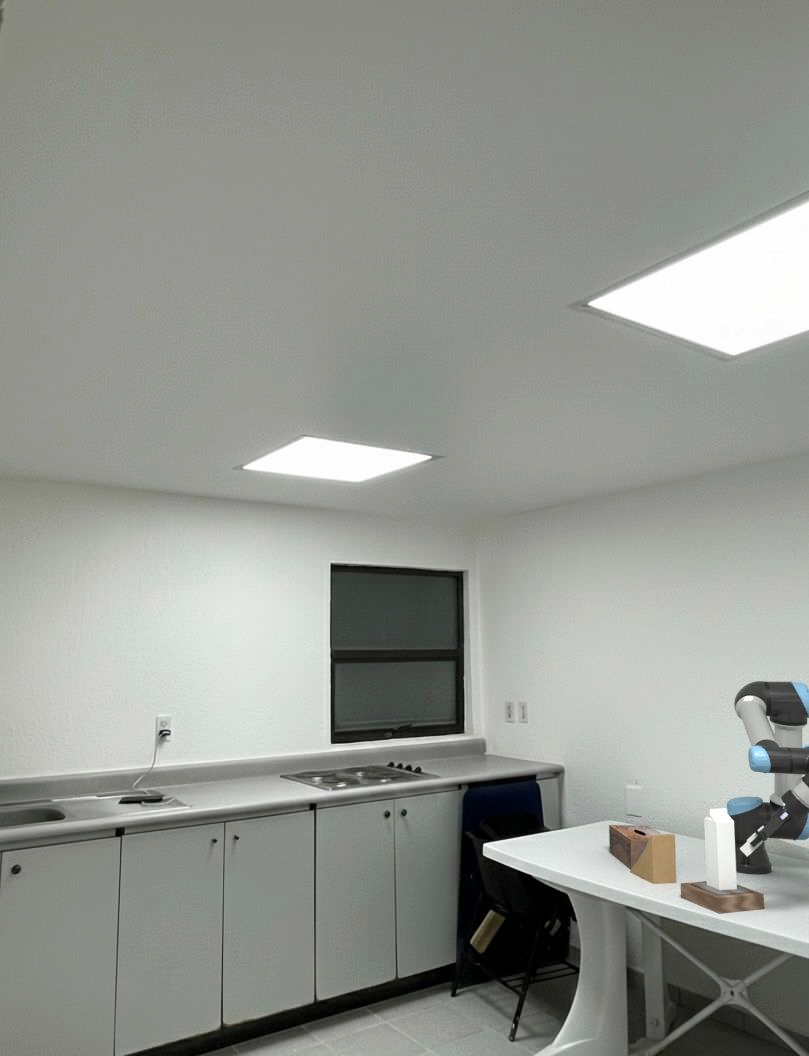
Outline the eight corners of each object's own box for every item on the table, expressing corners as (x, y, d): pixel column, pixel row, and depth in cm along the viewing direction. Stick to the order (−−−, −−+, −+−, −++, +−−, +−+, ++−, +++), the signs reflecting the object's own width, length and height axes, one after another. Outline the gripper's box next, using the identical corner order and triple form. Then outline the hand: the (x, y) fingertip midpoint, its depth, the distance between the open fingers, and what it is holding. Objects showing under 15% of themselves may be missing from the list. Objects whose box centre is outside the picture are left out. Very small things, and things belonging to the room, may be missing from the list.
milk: (737, 889, 232) (734, 810, 236) (719, 890, 231) (716, 810, 234) (723, 884, 238) (720, 806, 242) (705, 885, 237) (703, 806, 240)
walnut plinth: (724, 893, 244) (723, 878, 244) (764, 908, 229) (763, 892, 230) (681, 897, 238) (680, 882, 239) (719, 913, 223) (718, 897, 224)
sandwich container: (651, 871, 270) (650, 824, 272) (677, 883, 255) (675, 833, 257) (628, 872, 268) (627, 825, 270) (652, 884, 253) (651, 834, 255)
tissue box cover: (674, 872, 269) (673, 840, 271) (631, 871, 269) (630, 840, 271) (648, 854, 295) (647, 825, 297) (609, 853, 294) (609, 824, 296)
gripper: (808, 816, 215) (751, 867, 220) (815, 803, 236) (763, 850, 241) (785, 793, 218) (729, 844, 223) (794, 783, 240) (743, 830, 245)
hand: (746, 848), depth 232 cm, fingers open, 13 cm apart
